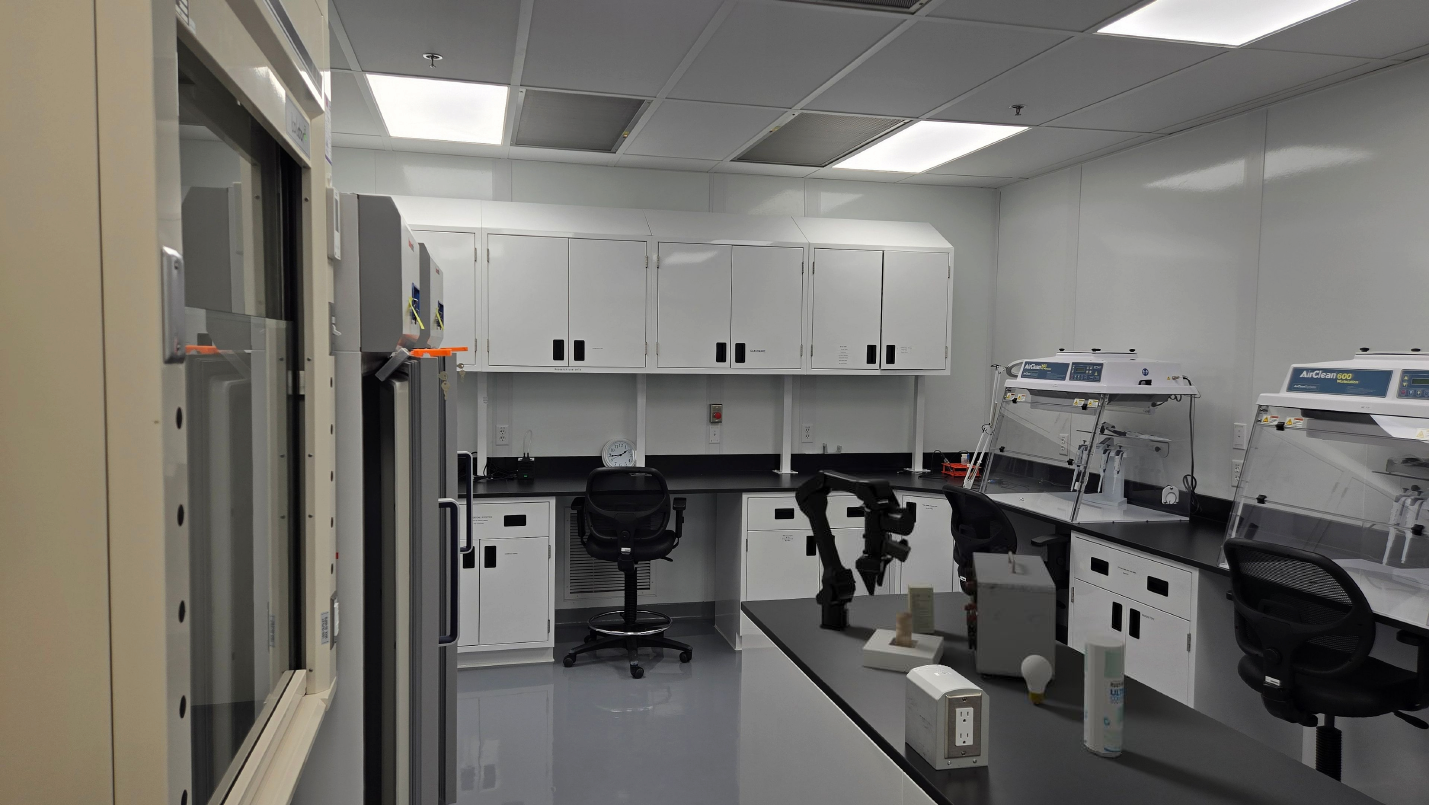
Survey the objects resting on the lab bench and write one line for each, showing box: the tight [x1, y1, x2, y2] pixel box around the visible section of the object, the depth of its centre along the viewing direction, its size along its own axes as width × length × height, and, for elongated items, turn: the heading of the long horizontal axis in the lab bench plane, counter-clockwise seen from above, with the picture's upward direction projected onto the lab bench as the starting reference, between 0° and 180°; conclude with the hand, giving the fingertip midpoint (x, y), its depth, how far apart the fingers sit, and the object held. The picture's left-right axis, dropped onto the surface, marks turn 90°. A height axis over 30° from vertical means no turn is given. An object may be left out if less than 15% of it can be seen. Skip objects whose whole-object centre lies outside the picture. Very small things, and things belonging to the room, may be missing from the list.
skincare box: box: [907, 583, 935, 634], centre depth 215 cm, size 6×4×12 cm
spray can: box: [1083, 634, 1126, 753], centre depth 147 cm, size 6×6×20 cm
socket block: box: [861, 628, 944, 673], centre depth 194 cm, size 16×16×4 cm
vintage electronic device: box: [964, 550, 1057, 683], centre depth 194 cm, size 32×18×25 cm, turn 164°
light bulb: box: [1021, 655, 1052, 704], centre depth 168 cm, size 6×6×10 cm
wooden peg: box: [895, 611, 912, 648], centre depth 194 cm, size 4×4×10 cm
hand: (875, 590), depth 206 cm, fingers open, 9 cm apart
